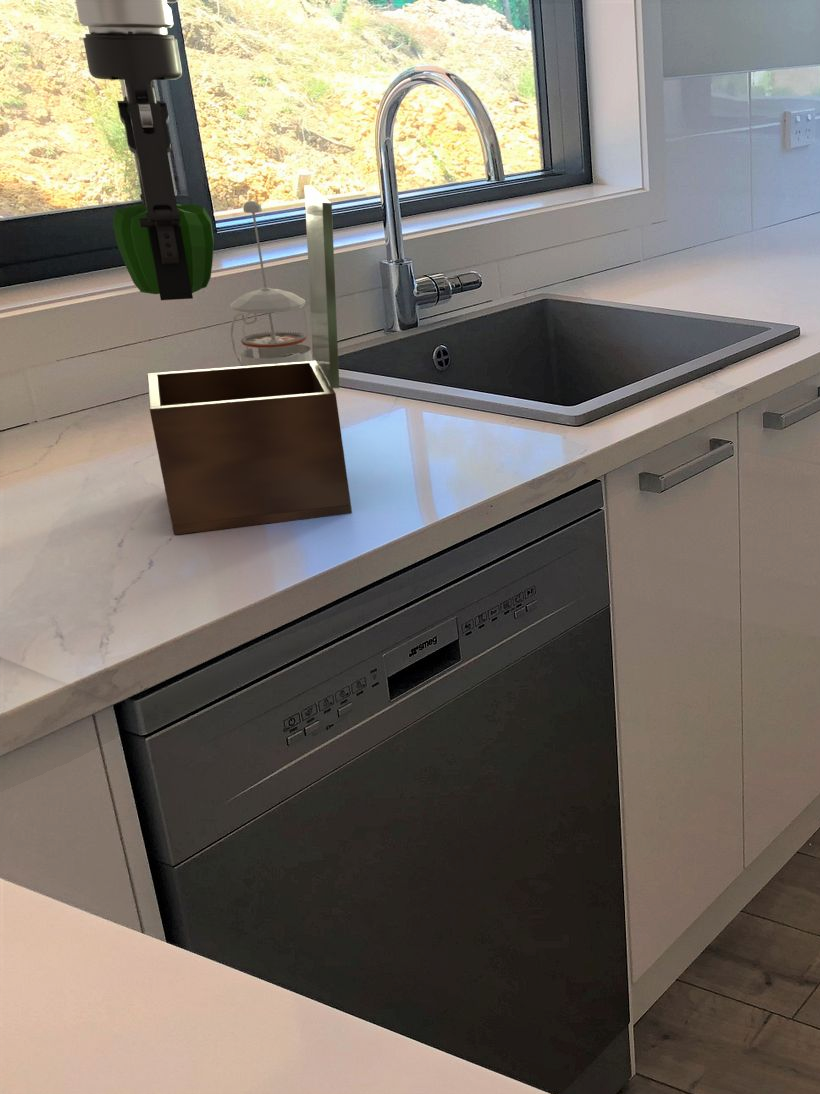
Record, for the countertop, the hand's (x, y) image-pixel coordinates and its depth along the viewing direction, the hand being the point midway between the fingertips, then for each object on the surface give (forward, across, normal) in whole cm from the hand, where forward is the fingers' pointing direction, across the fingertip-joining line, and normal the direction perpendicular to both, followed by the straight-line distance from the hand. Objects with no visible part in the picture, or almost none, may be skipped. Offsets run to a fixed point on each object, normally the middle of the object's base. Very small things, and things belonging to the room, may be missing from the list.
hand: (174, 290), depth 132 cm
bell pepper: (0, 0, 0) cm, 0 cm away
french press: (+20, +27, -10) cm, 35 cm away
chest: (+20, -5, -4) cm, 21 cm away
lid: (-1, -5, -12) cm, 14 cm away
